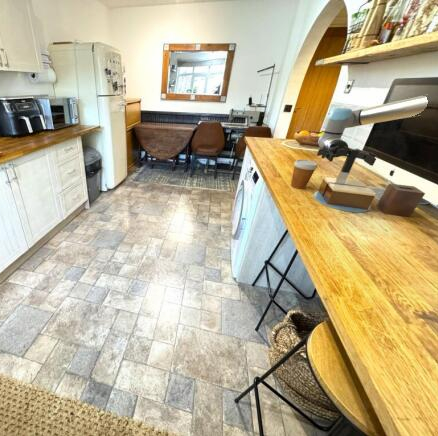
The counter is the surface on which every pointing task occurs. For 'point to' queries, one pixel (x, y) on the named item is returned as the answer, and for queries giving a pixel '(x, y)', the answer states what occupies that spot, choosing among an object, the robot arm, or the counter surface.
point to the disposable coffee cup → (302, 173)
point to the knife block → (400, 200)
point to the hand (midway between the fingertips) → (352, 160)
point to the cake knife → (347, 167)
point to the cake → (345, 195)
